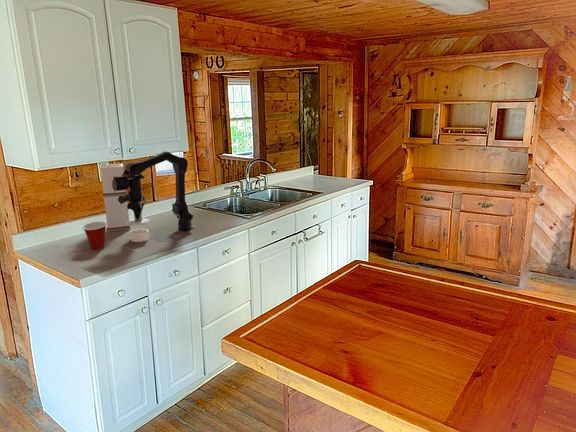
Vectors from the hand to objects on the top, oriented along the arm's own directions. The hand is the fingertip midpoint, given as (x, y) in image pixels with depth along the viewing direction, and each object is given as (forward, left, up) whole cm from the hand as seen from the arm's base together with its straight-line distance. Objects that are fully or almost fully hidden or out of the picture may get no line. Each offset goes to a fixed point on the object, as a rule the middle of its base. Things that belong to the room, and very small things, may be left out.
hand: (138, 218), depth 223 cm
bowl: (0, 0, -11) cm, 11 cm away
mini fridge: (-7, -28, -11) cm, 31 cm away
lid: (0, 0, -2) cm, 2 cm away
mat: (-9, +9, -11) cm, 17 cm away
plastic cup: (+20, -6, -11) cm, 24 cm away
